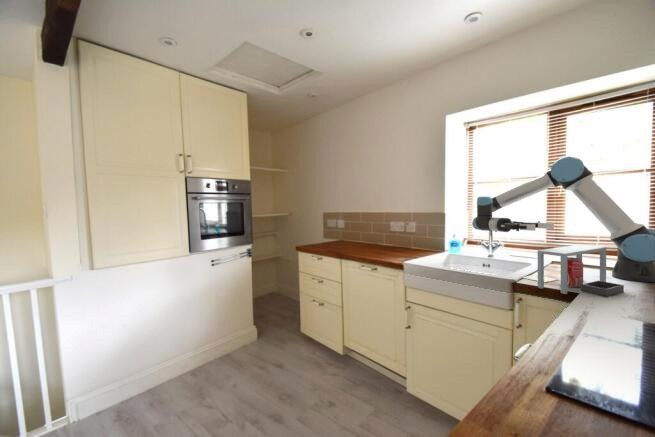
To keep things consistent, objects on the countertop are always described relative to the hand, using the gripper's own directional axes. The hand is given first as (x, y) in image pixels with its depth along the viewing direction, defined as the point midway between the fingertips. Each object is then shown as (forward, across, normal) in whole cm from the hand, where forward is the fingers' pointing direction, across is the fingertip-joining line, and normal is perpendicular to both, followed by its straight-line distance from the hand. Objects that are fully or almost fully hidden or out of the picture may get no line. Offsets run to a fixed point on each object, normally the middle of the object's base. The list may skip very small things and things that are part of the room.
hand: (544, 226), depth 128 cm
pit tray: (+21, 0, -25) cm, 33 cm away
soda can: (+11, 0, -25) cm, 28 cm away
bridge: (+11, 0, -25) cm, 27 cm away
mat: (-2, 0, -25) cm, 25 cm away
